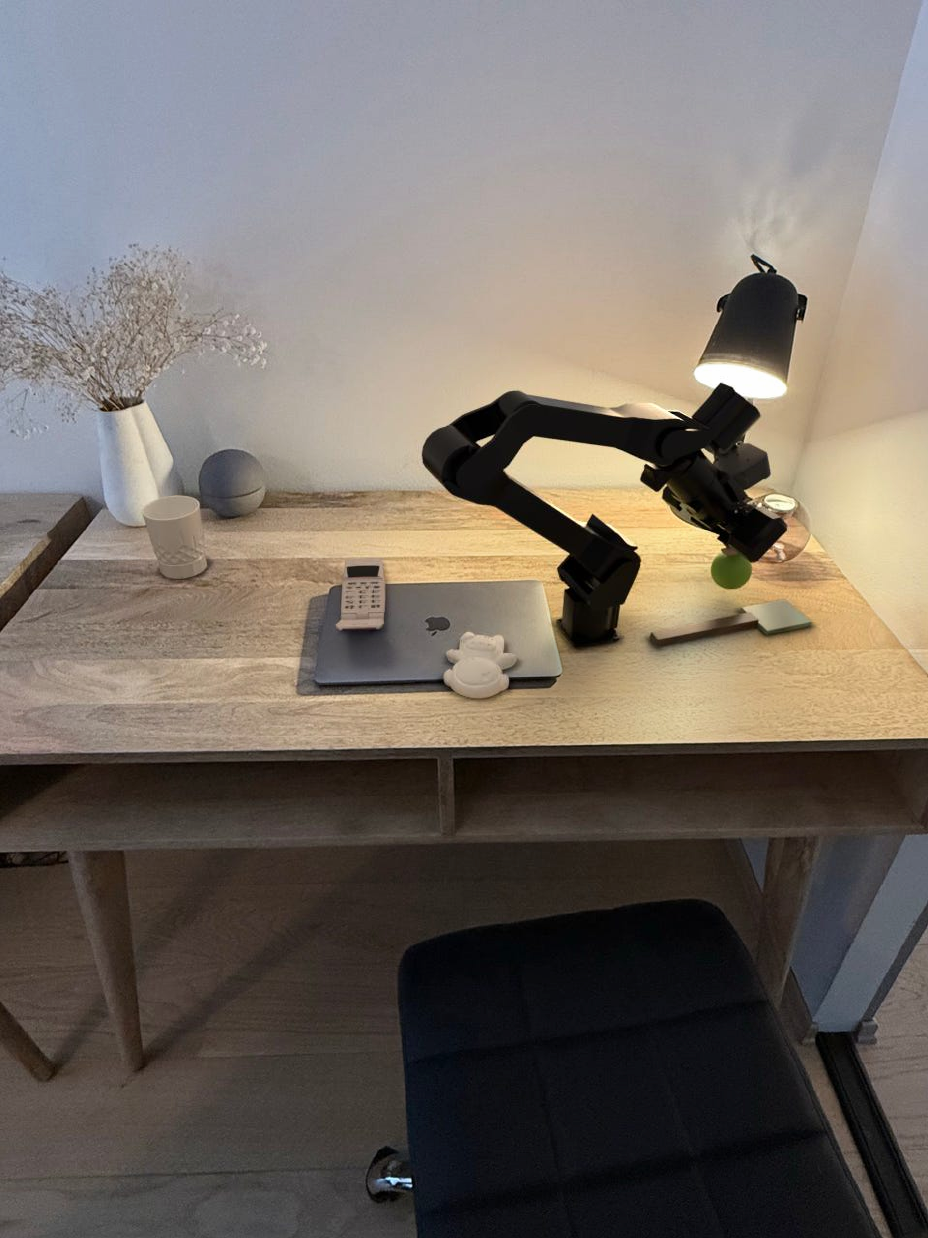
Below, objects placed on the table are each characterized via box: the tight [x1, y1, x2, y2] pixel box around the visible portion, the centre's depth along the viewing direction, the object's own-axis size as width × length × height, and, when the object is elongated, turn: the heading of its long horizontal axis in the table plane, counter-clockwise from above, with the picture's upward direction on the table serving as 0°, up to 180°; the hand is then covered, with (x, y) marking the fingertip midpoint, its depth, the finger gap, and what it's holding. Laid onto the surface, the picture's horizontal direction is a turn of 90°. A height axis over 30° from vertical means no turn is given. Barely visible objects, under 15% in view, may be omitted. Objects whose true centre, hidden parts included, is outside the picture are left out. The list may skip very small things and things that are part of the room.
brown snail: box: [710, 503, 770, 590], centre depth 112 cm, size 5×6×12 cm
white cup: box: [141, 495, 208, 580], centre depth 120 cm, size 8×8×10 cm
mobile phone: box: [335, 557, 386, 631], centre depth 111 cm, size 6×6×25 cm
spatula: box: [649, 598, 813, 648], centre depth 109 cm, size 22×6×1 cm, turn 108°
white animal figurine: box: [442, 631, 518, 699], centre depth 101 cm, size 9×12×3 cm
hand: (747, 542), depth 112 cm, fingers closed on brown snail
